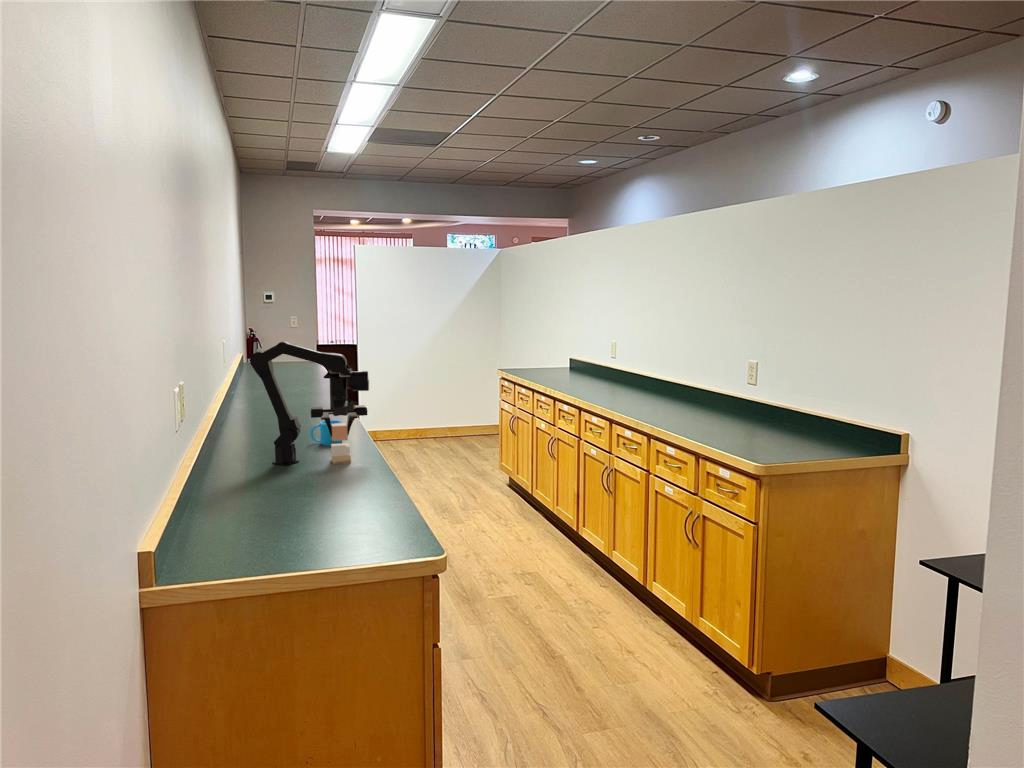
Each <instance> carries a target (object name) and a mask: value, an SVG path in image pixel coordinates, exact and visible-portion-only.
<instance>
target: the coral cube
mask: <svg viewBox="0 0 1024 768" xmlns="http://www.w3.org/2000/svg"><path fill="white" fill-rule="evenodd" d="M331 429H332V437H331V438H332V441H341V440H342V441H348V437H349V435H348V434H347V422H342V423H340V424H331Z"/></svg>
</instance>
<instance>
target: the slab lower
mask: <svg viewBox="0 0 1024 768" xmlns="http://www.w3.org/2000/svg"><path fill="white" fill-rule="evenodd" d="M351 455H352V454H350V455H347V456H332V455H331V462H332V464H333V465H337V464H339V465H340V464H351V463H352V456H351Z"/></svg>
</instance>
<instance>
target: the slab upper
mask: <svg viewBox="0 0 1024 768" xmlns="http://www.w3.org/2000/svg"><path fill="white" fill-rule="evenodd" d="M350 448H351V447H350V443H349V442H345V443H343V442H342V443H341V444H331V445H330V450H331V451H330V453H331V457H332V456H347V455H351V449H350Z"/></svg>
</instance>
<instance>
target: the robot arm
mask: <svg viewBox="0 0 1024 768" xmlns="http://www.w3.org/2000/svg"><path fill="white" fill-rule="evenodd" d="M282 355H287V356H291V357H294V358H298V359H301V360H304V361H310V362H311V363H312V362H313V363H315V364H318V365H320V366H322V367H324V368H325V369H328V371H327V372H326V374H325V375H324V376H323V379H329V405H330V406H329V408H325V409H324V408H323V406H313V407H311V408H310V409H309V415H310V418H312V419H313V418H315V419H316V418H320V420H322V421H325V422H326V424H327V427H328V430H329V433H330V435H331V437H332V429H331V422H330V421H331V418H330V415H333V416H334V417H339V416H347V418H346V419H347V421H346V424H347V434H348V436H349V435H350V432H351V427H352V425H353V423H354V421H355V420H356V419H358V417H359V416H362V417H363V416H368V408H367V407H366V405H364V404H363V405H362V404H361V405H360V404H359V405H357V404H356V405H354V400H353V399H352V400H351V399H350V400H348V389H350V390H351V391H353V392H369V391H370V379H369V370H363V371H353V369H352V368H351V367H350V365H349V364H348V360H347V358H346V356H345V355H344V354H341V353H336V352H324V351H318V350H314V349H310V348H308V347H305V346H301V345H296V344H293V343H289V342H288V341H284V340H283V341H280V342H278V343H277V344H275V345H274V346H272V347H271V348H268V349H265V350H259V351H255V352H253V354H251V356H250V358H249V364H250V366H251V367H252V369H253V370H254V372H255V374H257V376H258V377H259V378H260V380H261V381H262V383H263V386H264V388H265V391H266V393H267V395H268V397H269V400H270V403H271V405H272V407H273V411H274V413H275V415H276V417H277V423H278V431H279V435H278V436H277V438H276V439H275V440H274V441H273V444H274V457H275V458H274V459H275V460H274V461H271V463H272V465H273V464H274V465H280V466H288V465H291V464H294V463H295V464H296V463H298V462H300V460H299V459H297V456H296V455H297V452H296V450H297V449H296V444H295V441H296V440H297V438H298V437H299V436H300V433H301V428H302V425H301V424H300V422H299V418H298V416H297V415H296V416H294V417H293V416H292V414H291V413H290V411H289V409H288V406H287V403H286V401H285V399H284V397H283V394H282V392H281V389H280V387H279V384H278V382H277V380H276V379H277V378H276V376H275V374H274V366H273V365H274V364H273V361H272V360H275V359H276V358H278V357H280V356H282ZM341 374H342V375H341ZM347 380H348V382H347Z"/></svg>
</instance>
